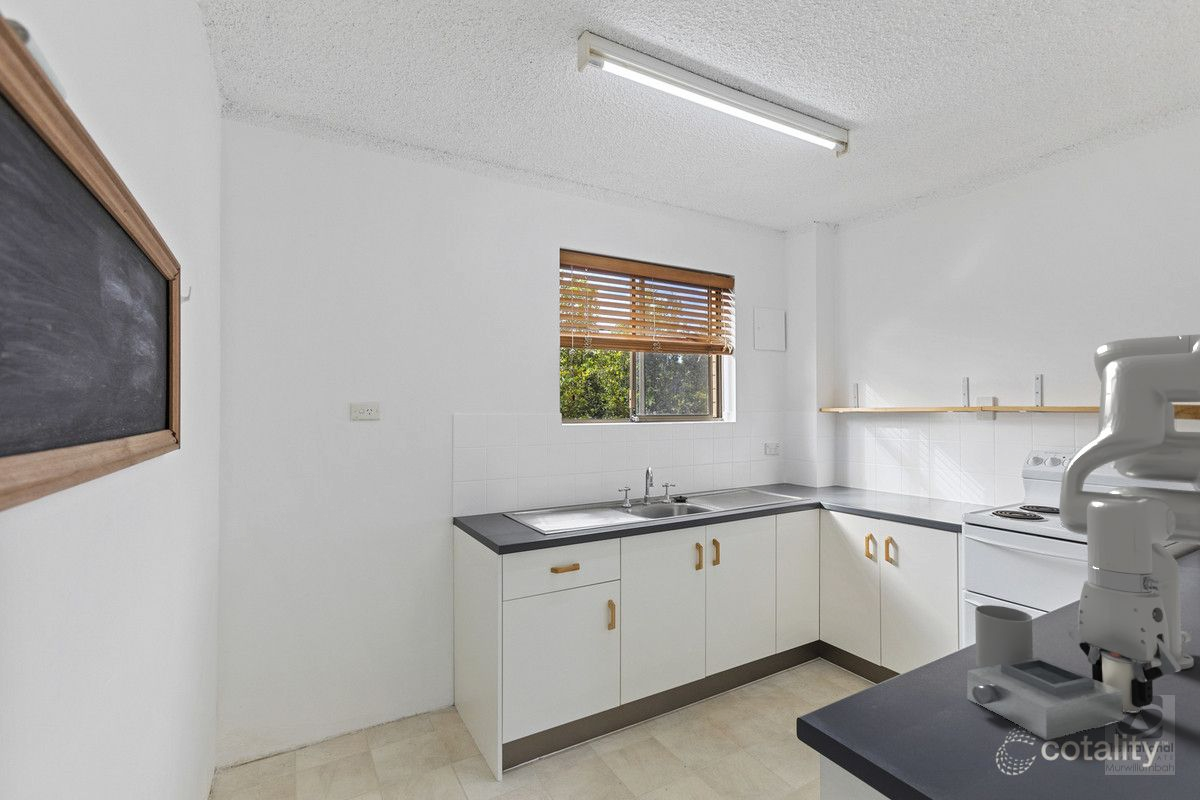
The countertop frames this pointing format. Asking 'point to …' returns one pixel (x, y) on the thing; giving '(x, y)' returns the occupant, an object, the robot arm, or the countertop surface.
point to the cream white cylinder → (1119, 676)
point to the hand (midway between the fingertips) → (1121, 696)
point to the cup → (1002, 635)
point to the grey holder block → (1045, 697)
